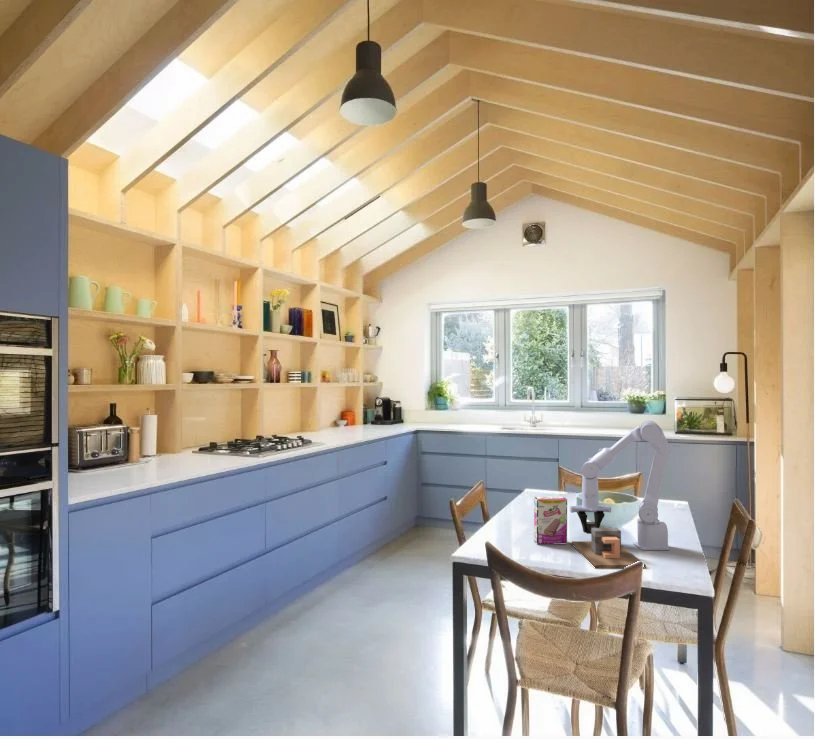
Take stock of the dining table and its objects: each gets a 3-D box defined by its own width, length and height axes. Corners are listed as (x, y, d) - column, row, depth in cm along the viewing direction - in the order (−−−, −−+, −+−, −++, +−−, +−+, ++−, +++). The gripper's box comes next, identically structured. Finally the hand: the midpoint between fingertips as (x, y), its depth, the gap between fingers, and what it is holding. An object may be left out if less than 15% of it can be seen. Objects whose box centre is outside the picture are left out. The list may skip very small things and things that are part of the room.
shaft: (594, 531, 211) (594, 521, 211) (610, 544, 194) (610, 534, 194) (584, 531, 211) (584, 521, 211) (599, 545, 194) (599, 534, 194)
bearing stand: (616, 544, 206) (615, 519, 206) (645, 568, 180) (645, 540, 180) (571, 544, 206) (571, 519, 206) (594, 568, 180) (594, 540, 180)
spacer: (601, 554, 191) (616, 554, 190) (605, 558, 187) (619, 558, 187) (601, 536, 191) (615, 536, 191) (604, 539, 187) (619, 539, 187)
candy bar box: (537, 545, 206) (536, 499, 206) (533, 541, 211) (533, 496, 211) (568, 544, 206) (567, 498, 206) (563, 540, 211) (563, 495, 211)
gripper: (573, 497, 206) (573, 535, 206) (614, 496, 206) (614, 534, 206) (568, 493, 213) (568, 529, 213) (607, 492, 213) (607, 529, 213)
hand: (590, 532), depth 210 cm, fingers closed on shaft, 4 cm apart
